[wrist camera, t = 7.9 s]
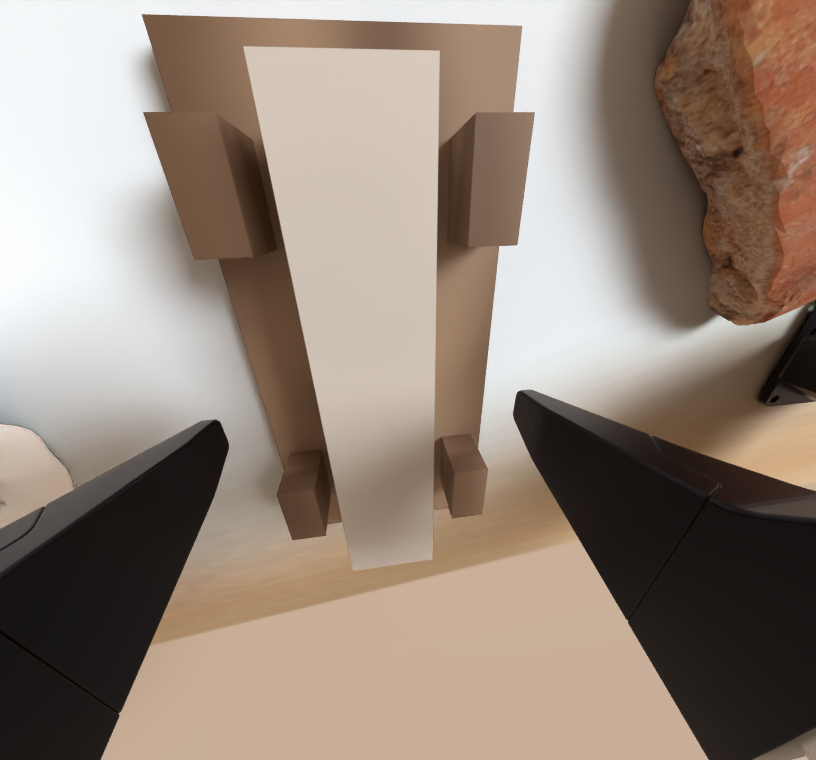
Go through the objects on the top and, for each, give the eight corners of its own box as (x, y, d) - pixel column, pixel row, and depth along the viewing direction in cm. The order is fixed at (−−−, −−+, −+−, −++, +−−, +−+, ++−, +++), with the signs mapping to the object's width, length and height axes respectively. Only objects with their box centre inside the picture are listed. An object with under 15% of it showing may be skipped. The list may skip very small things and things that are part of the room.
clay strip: (410, 117, 9) (439, 50, 5) (418, 488, 17) (432, 559, 13) (292, 117, 9) (243, 46, 5) (355, 496, 16) (352, 571, 13)
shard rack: (507, 44, 9) (577, -45, 6) (467, 491, 19) (486, 544, 16) (165, 36, 8) (47, -74, 5) (305, 512, 18) (292, 572, 15)
